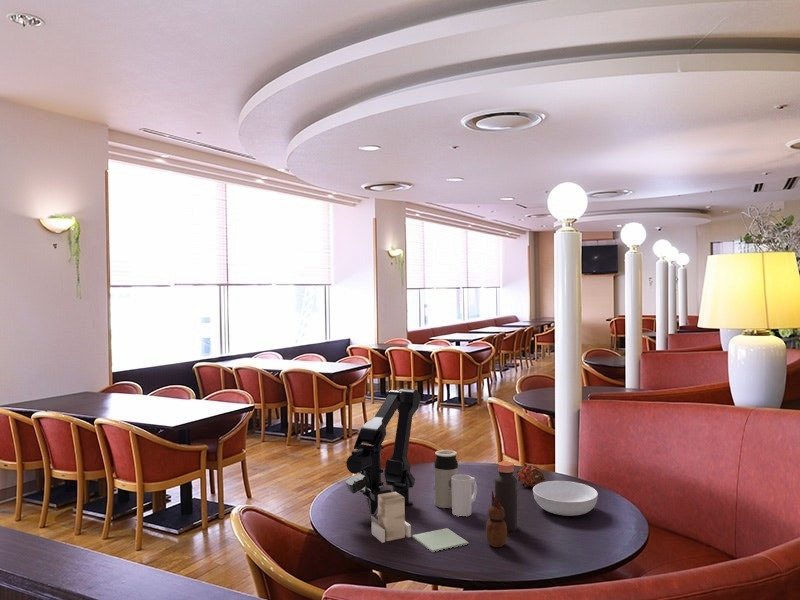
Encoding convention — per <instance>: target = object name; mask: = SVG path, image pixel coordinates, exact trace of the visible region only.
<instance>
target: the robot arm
mask: <svg viewBox="0 0 800 600" xmlns="http://www.w3.org/2000/svg"><path fill="white" fill-rule="evenodd" d="M421 397H422V395H421V394H420V393H419V391H418V390H417V389H412V388H410V389H409V388H400V389H398V390H397V389H391V390H389V391H388V392H387V396H386V398H385V399H384V401H383V402H382V404H381V405H380V407H379V409H377V412H376V413H375V415H374V417H373V418H372V419H370V420H368V421H366V422H365V424H363V425H362V427H361V428H360V430H359V432H358V435H357V438H356V439H355V443H354V445H353V449H354V450H352V451H351V455H349V456H348V457H347V459H346V462H345V465H346V469H347V471H349V473H350V474H353V476H352V477H349V478H347V479H346V480H345V485H346V487H347V489H348V491H349V492H350V493H351V494H356V493H357V492H360V493H361V495H363V496H364V497H365V500H366V502H367V503H366V504H367V507H368V509H369V510H368V511H369V513H370V515H375V514H376V511H377V510H378V495H379V494H385V493H391V492H397V493H399V494H400V495H402V496H403V497H405V506H408V505H409V506H410V505H413V503H414V502H413V501H412V500H410V489H411V488H413V487H414V486H415V481H416V478H415V477H414V476H413V474H412V473H411V464H410V462H409V459H408V454H409V453H408V452H409V444H410V438H411V429H412V425H413V424H412V423H413V416H414V414H415V413H416V412H417V411H418V409H419V405H420V404H421V403H420V402H421V400H422V398H421ZM396 411H397V412H398V416H397V422H396V423H397V424H396V431H395V438H394V445H393V451H392V456H391V457H390V458H389V459H386V460H385V468H384V469H383V468H382V463H381V462H382V461H381V460H382V455H381V454H382V453H381V452H382V450H384V449H385V447H384V445H382V444H383V442H384V440H385V438H386V436H387V429H386V428H387V426H388V425H389V422H390V421H391V419H392V418H393V416H394V414H395V413H396ZM382 473H384V474H383V475H384V480H385V484H386V486H384V481H382ZM381 486H382V487H381ZM387 486H392V487H391V489H390V488H388V487H387Z"/></svg>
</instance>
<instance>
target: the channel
mask: <svg viewBox="0 0 800 600" xmlns="http://www.w3.org/2000/svg"><path fill="white" fill-rule="evenodd" d="M411 527H412V525H411V524H410V523H409V522H407V521H406V520H405V537H407V538H411V537H412V528H411ZM371 535H372V536H373V537H374V538H376V539H377V540H378V541H379V542H380V543H381V544H383V543H386V540H385V530H384V529H383V528H382V527H380V526H379V525H378V524H377V523H375V522H372V521H371Z"/></svg>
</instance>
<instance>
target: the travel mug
mask: <svg viewBox="0 0 800 600" xmlns="http://www.w3.org/2000/svg"><path fill="white" fill-rule="evenodd" d="M434 455H435V457H436V459H435V460H434V464H433V465H434V467H433V468H434V469H433V470H434V473H433V474H434V505H435V507H438V508H439V509H445V508H448V509H452V488H451V477H452V476H453V475H457V474H459V463H458V459H457V455H458V453H457V451H455V450H451V449H441V450H436V451H435V453H434Z"/></svg>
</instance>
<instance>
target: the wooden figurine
mask: <svg viewBox="0 0 800 600" xmlns="http://www.w3.org/2000/svg"><path fill="white" fill-rule="evenodd" d="M487 513H488V519H487V521H486V524H485V536H486V540H487V544H489V546H491V547H494V548H502V547H503V546H504V545H505V544H506V541H507V538H508V532H507V526H506V523H505V521H504V520H503V518H504V509H503V507H502V506H501V505H500V502H499V501H498V499H497V498H496V494H495V493H494V491H491V505H490V506H489V507H488V511H487Z"/></svg>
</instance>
